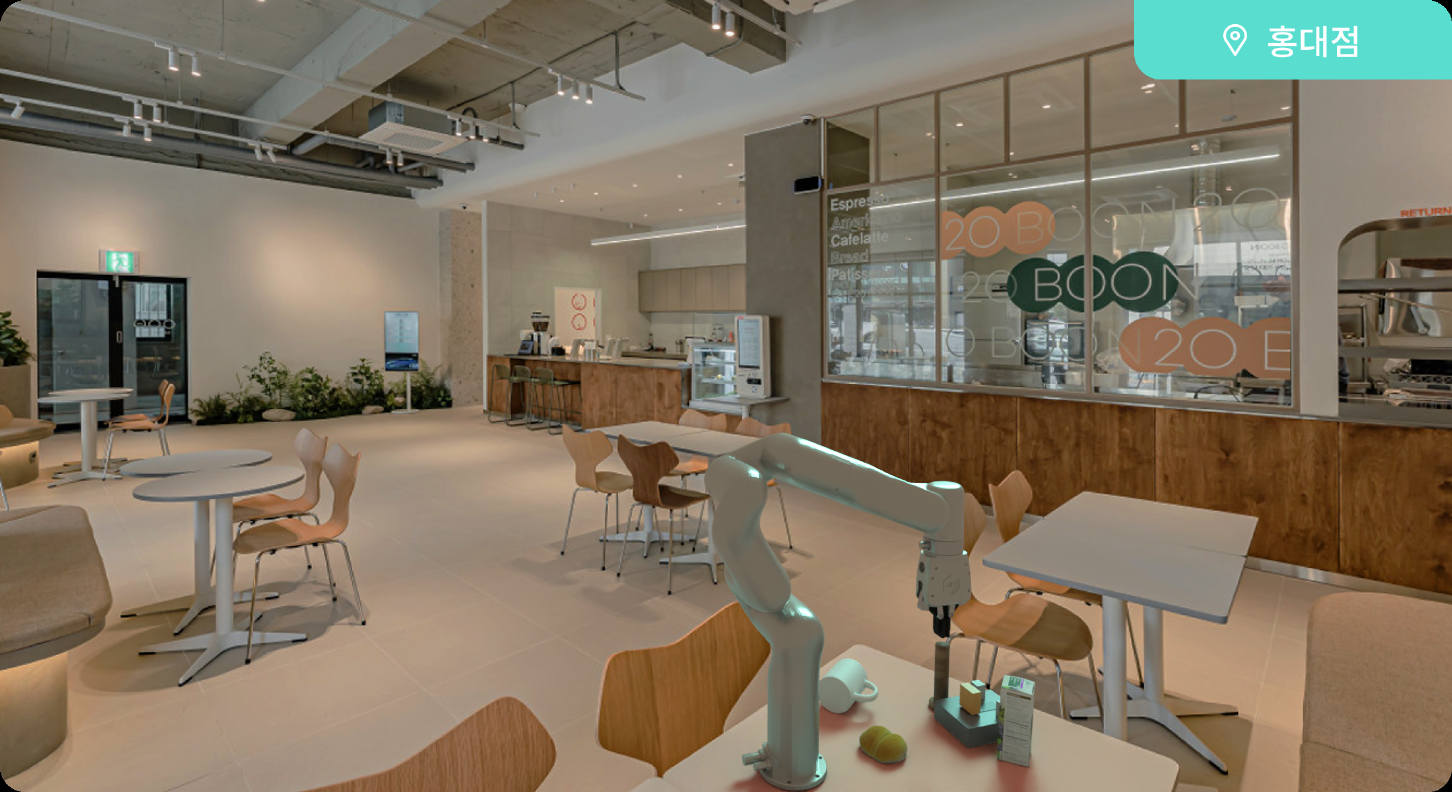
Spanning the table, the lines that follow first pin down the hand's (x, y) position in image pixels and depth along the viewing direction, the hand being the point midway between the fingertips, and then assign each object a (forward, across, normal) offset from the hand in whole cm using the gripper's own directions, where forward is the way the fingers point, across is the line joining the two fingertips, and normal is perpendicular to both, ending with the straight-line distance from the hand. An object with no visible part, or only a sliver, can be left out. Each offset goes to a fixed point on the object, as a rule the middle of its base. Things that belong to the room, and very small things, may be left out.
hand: (941, 634), depth 137 cm
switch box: (+21, +10, 0) cm, 23 cm away
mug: (+21, -12, +16) cm, 29 cm away
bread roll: (+21, -14, -1) cm, 25 cm away
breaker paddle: (+17, +7, 0) cm, 18 cm away
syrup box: (+21, +10, -10) cm, 25 cm away
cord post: (+21, +6, +9) cm, 24 cm away
